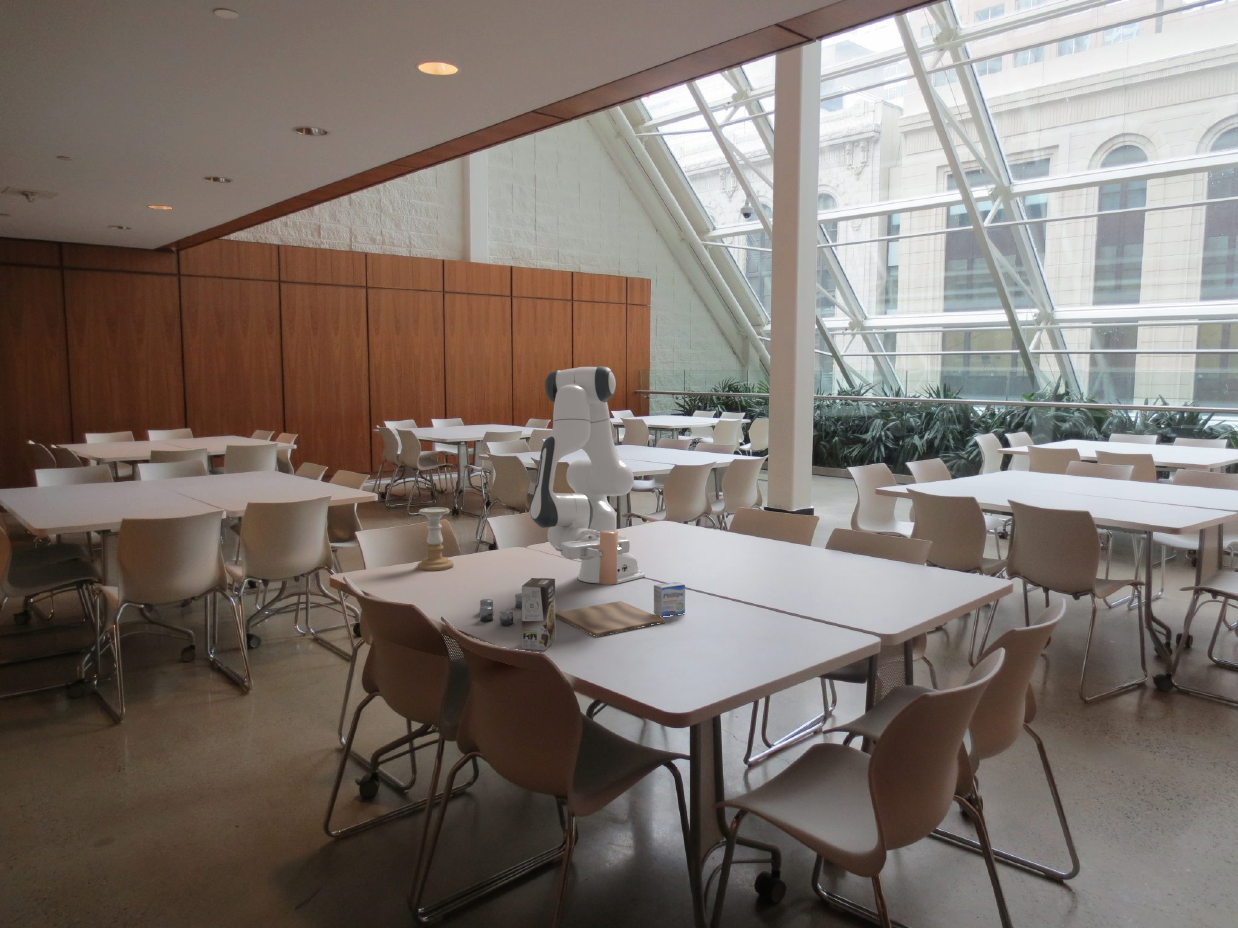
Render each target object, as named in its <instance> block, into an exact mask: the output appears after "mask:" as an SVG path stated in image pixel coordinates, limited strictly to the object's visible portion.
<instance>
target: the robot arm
mask: <svg viewBox="0 0 1238 928" xmlns="http://www.w3.org/2000/svg"><path fill="white" fill-rule="evenodd" d="M616 383H617V382H616V377H615V374H614V372H613V371H612V369H610V368H609V367H608V366H601V365H599V366H579V367H574V368H567V369H562V370H561V369H557V370H554V371H551V372H549V374H548V375H547V376H546V379H545V383H544V385H545V386H544V387H545V389H544V390H545V394H546V397H547V399H548V401H550V402H551V403H553V415H552V418H553V420H552V429H551V433H550V435H549V437H547V438H546V439H545V440H544V441H543V444H542V446H541V451H540V455H539V462H538V467H537V474H536V481H535V487H534V492H533V495H532V500H531V502H530V507H529V514H530V517H531V519H532V520H533V522H534V523H535V524H536V525H537V526H539V527H540V528H542V529H544V528H545V529H546V528H548V530H547V534H546V535H547V540H548V542H549V544H550V546H551V547H552V548H553V549H554V550H555V551H557V552H560V555H561V556H562V557H563V558H565V559H566V560H577V559H579V560H581V562H580V563H581V564H580V568H579V573H578V576H577V579H578V580H579V581H581V582H585V583H592V584H600V583H599V559H600V557H602V556H603V555H602V553H603V551H602V550H600V531H606V530H611V531H617V513H616V511H615V509H614V508H613V506H611V505H610V503H609V502H608V498H607V497H619V496H626V495H627V494H628V493H630V491H631V490H632V488H633V486H634V481H635V478H634V477H635V476H634V473H633V470H632V469H631V468H630V467H629V466H628V465H627V464H626V463H625V462H624V460H623V459H622V458H621V456H620V454H619V452H618V450H617V448H616V445H615V442H614V437H613V433H612V431H613V430H612V427H611V417H610V410H609V404H608V401H609V400H611V399H612V397H613V396H614V395H615V392H616V387H617V386H616V385H617V384H616ZM580 450H583V451H584V452H585V453H586V454H587V456H588V458H589V459H588V458H587V459H579V460H575V461H573V462H572V463H570V464H569V466H568V467H567V470H566V474H565V475H566V477H565V478H566V481H567V484H568V486H569V487H570V488H571V489H572V490H573V491H574V493H573V492H571V493H570V492H569V493H565V492H564V493H563V492H562V493H559V492H554V484H555V477H556V469H557V465H558V463H559V461H560V460H561V459H562V458H563V457H566V456H567V455H570V454H572V453H575V452H578V451H580ZM630 543H631V542H630V540H629V539H628V538H627V537H626V536H622V535H619V534H618V575H617V584H616V585H618V584H621V583H625V582H628V581H629V582H630V581H633V580H634V581H635V580H638V579H641V578H645V577H646V574H645V572H644V571H643V570H641V569H639V565H638V560H637V558H636V557H635V556H634V555H633V554H632V553H630V550H631V549H630V548H631V544H630Z"/></svg>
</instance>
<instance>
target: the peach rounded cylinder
mask: <svg viewBox="0 0 1238 928" xmlns="http://www.w3.org/2000/svg"><path fill="white" fill-rule="evenodd" d="M618 535H619V531H617V530H616V531H611V530H606V531H600V550H602V551H603V553H602V555H603V556H602V557H600V559H599V583H598V584H602V585H606V586H609V585H618V584H617V575H618Z"/></svg>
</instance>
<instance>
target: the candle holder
mask: <svg viewBox="0 0 1238 928" xmlns="http://www.w3.org/2000/svg"><path fill="white" fill-rule="evenodd" d="M449 513H450V508H447V507H440V506H439V507H435V506H434V507H425V508H421V509H419V510H418V514H419V515H422V516H426V518H427V519H428V521H429V522H428V524H427V525H426V526H427V527H426V528H427V529H428V533H427V534H428V535H427V538H426V542H427V543H428V545H427V546H426V550H427V551H428V556H427V557H426V558H424V559H422V560H421V561H419V562H417V564H416V565H417V566H416V567H417V569H418V570H421V569H422V570H421V571H425V572H427V571H430V572H433V571H434V572H435V571H436V572H437V571H444V570H449V569H452V568H453V567H454V561H452V560H451V559H449V558H448V557H445V556H444V557H443V552H442V551H443V549H444V548H445V547H444V546H443V544H442V543H443V542H444V538H443V535H442V531H441V529H442V527H443V525H442V524H441V522H440V520H441V518H442V517H443V515H447V514H449Z"/></svg>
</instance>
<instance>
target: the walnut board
mask: <svg viewBox="0 0 1238 928" xmlns="http://www.w3.org/2000/svg"><path fill="white" fill-rule="evenodd" d="M555 618H557V619H559V620H562V621H563V622H566V623H568V624H569V625H571V624H572V625H571V626H573V627H575V626H576V627H575V628H577V627H578V628H577V629H578V630H579V629H580V630H581V629H582V630H581V631H583V630H584V631H583V632H585V631H586V632H585V633H587V632H588V633H587V634H589V633H591V634H592V635H591V634H590V635H591V636H593V635H595V636H599V637H603V636H602V635H604V636H608V635H607V634H609V635H611V634H610V633H614V634H617V633H616V632H619V633H622V632H621V631H624V632H626V631H625V630H629V631H632V630H631V629H634V630H637V629H636V628H638V627H642V626H648V627H650V626H649V625H651V624H657V623H663V622H665V623H666V619H665V618H661V617H659V616H657V615H655V614H654V613H650V612H648V611H646V610H644V609H640V608H639V607H636V606H633V605H632V604H629V603H626V602H624V601H622V600H618V601H612V602H608V603H602V604H596V605H595V604H594V605H590V606H584V607H579V608H574V609H568V610H561V611H557V612H556V611H555ZM663 624H664V623H663ZM638 629H639V628H638ZM595 636H594V637H595Z"/></svg>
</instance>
